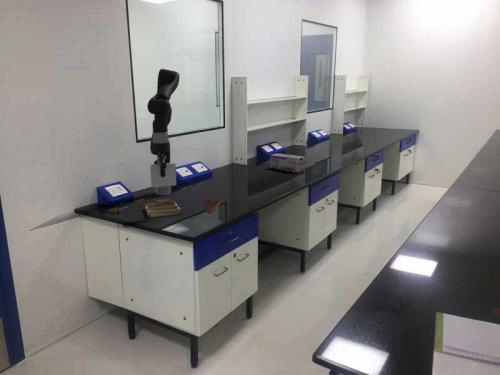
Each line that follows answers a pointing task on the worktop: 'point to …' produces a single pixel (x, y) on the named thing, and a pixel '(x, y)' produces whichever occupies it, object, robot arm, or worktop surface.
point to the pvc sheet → (163, 181)
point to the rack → (162, 210)
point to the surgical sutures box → (287, 162)
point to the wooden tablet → (211, 205)
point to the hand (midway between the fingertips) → (162, 176)
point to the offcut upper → (163, 202)
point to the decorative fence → (118, 209)
